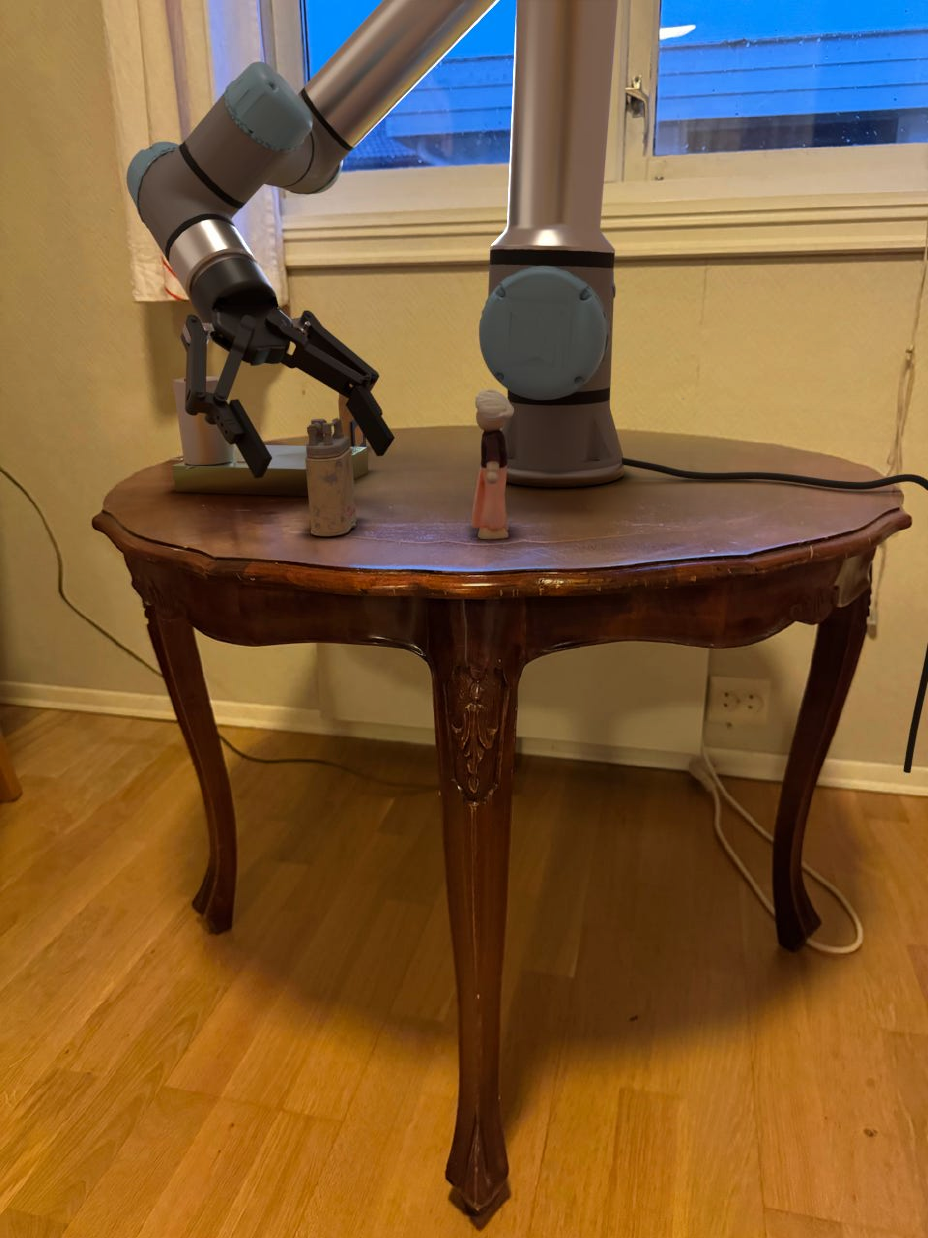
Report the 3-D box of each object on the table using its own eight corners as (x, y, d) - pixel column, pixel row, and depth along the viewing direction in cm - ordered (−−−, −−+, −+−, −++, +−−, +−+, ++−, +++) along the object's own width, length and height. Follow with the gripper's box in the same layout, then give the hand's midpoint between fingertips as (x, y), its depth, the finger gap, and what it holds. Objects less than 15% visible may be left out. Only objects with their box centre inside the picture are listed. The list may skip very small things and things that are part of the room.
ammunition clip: (354, 461, 113) (348, 365, 109) (340, 461, 114) (333, 365, 109) (366, 447, 123) (361, 358, 119) (353, 447, 124) (347, 359, 119)
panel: (368, 471, 107) (367, 445, 106) (318, 501, 93) (315, 471, 92) (221, 467, 112) (218, 442, 111) (151, 495, 97) (146, 466, 96)
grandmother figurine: (467, 524, 82) (464, 385, 78) (508, 522, 82) (507, 383, 78) (475, 547, 75) (472, 395, 71) (520, 545, 75) (520, 393, 71)
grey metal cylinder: (200, 455, 103) (189, 373, 99) (243, 456, 101) (234, 373, 98) (174, 464, 98) (162, 378, 94) (219, 465, 96) (209, 378, 93)
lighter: (324, 518, 86) (316, 414, 82) (363, 518, 85) (356, 413, 82) (307, 538, 79) (297, 425, 75) (348, 538, 79) (340, 425, 75)
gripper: (317, 308, 96) (413, 462, 91) (90, 317, 80) (192, 505, 75) (343, 254, 90) (447, 415, 85) (105, 251, 74) (216, 449, 69)
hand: (328, 457), depth 80 cm, fingers open, 13 cm apart
